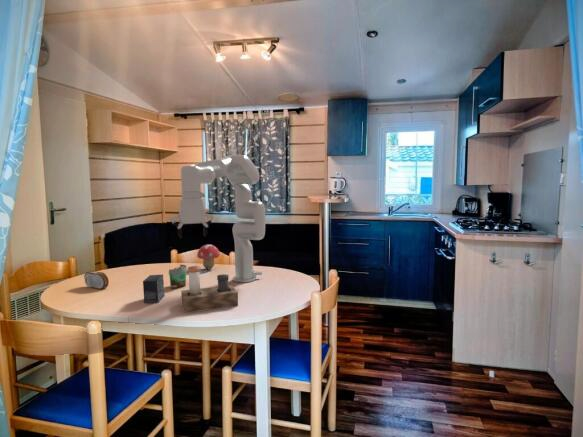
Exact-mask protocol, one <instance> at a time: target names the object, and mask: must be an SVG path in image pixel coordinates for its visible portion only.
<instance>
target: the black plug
mask: <svg viewBox="0 0 583 437" xmlns="http://www.w3.org/2000/svg"><path fill="white" fill-rule="evenodd" d="M216 277H217V279H216V280H217V287H218V292H225V291H228V286H229V278H230V277H229V274H226V273H222V274H218V275H216Z"/></svg>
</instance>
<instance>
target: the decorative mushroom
mask: <svg viewBox="0 0 583 437" xmlns="http://www.w3.org/2000/svg"><path fill="white" fill-rule="evenodd" d="M220 255H221V254H220V251H219V249H218V247H216V246H215V245H213V244H204V245H202V246H201V247H200V248H199V249H198V251H197V255H196V256H197V258H198V259H199V260H200V259H201V260H202V261H203V262H202V266H203V267H204V268H205V269H207V270H210V269H212V268H213V267H215V265H216V264H215V259H216V258H217V259H218V258H219V257H220Z"/></svg>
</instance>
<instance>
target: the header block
mask: <svg viewBox="0 0 583 437" xmlns="http://www.w3.org/2000/svg"><path fill="white" fill-rule="evenodd" d="M181 305H182V309H183V313H193V312H200V311H201V312H202V311H208V310H215V309H223V308H231V307H237V306H239V291H237V290H236V289H235V287H234V286H233V285H229V284H228V291H225V292H218V286H212V287H204V288H203V287H202V288H200V294H199V295H191V296H190V295H189V289H186V290H181Z"/></svg>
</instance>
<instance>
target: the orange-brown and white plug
mask: <svg viewBox="0 0 583 437" xmlns="http://www.w3.org/2000/svg"><path fill="white" fill-rule="evenodd" d="M187 272H188V285H189V286H188V288H189V289H188V290H189V295H190V296H191V295H199V294H200V289H201V277H200V275H201V274H200V272H201V266H199V265H192V266H189V267H187Z"/></svg>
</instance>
